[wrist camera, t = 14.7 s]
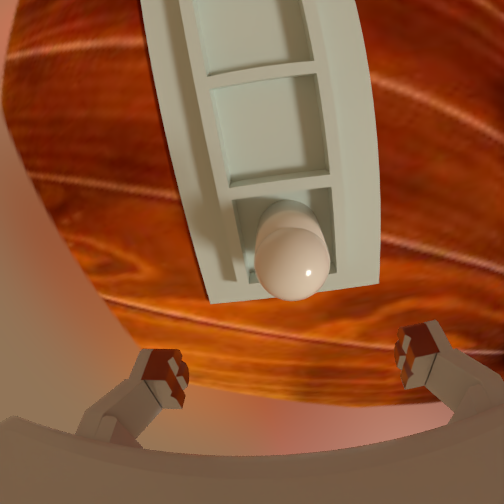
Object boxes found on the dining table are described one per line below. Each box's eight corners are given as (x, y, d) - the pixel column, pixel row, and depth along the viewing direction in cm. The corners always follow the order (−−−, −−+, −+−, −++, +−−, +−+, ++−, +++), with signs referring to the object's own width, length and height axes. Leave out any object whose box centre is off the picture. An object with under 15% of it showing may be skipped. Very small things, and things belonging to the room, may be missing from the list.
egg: (252, 204, 21) (244, 251, 15) (315, 196, 21) (334, 240, 15) (262, 259, 23) (259, 320, 17) (320, 252, 23) (337, 311, 17)
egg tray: (140, -15, 14) (129, -22, 13) (339, -47, 12) (345, -59, 11) (211, 301, 26) (207, 315, 24) (377, 280, 24) (384, 294, 22)
